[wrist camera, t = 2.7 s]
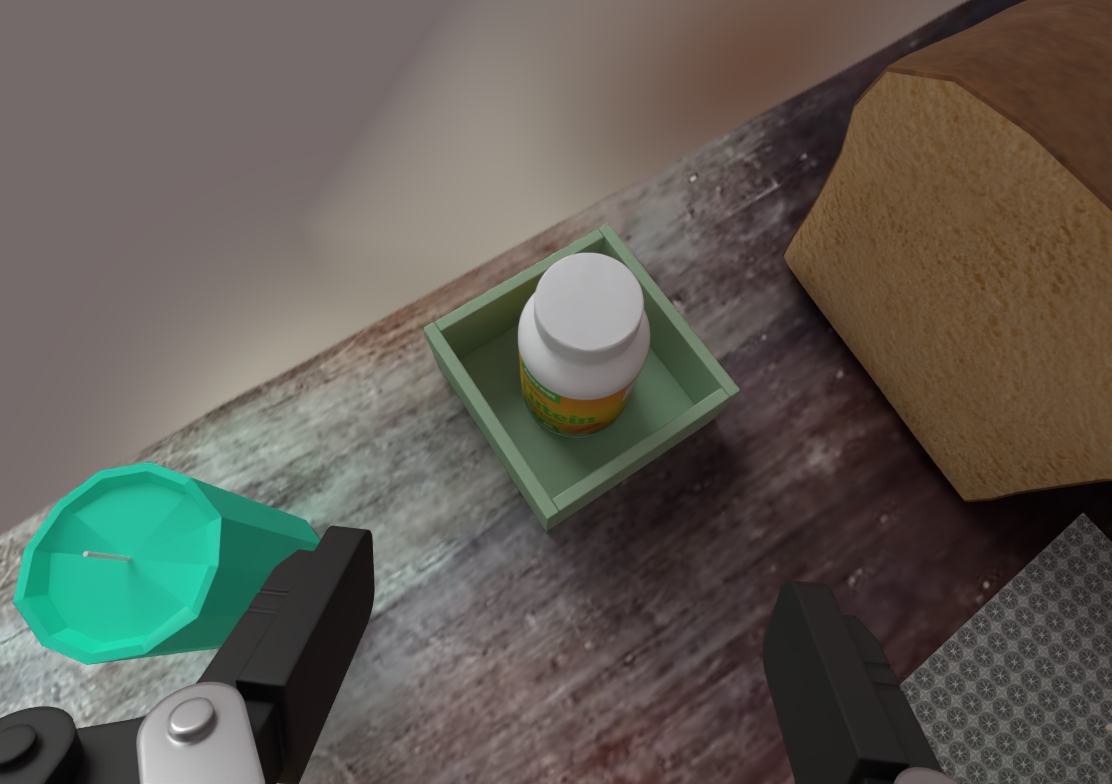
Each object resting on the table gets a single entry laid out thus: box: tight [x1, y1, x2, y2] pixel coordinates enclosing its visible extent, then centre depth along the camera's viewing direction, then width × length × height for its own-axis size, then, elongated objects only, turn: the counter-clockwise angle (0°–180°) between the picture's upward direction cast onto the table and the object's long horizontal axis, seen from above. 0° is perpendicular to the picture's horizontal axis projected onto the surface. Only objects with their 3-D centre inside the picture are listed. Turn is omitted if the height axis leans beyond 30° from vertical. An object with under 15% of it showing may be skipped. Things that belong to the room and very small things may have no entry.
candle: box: [13, 462, 320, 665], centre depth 24 cm, size 6×6×12 cm
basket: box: [423, 223, 740, 532], centre depth 30 cm, size 10×10×4 cm
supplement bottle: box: [518, 253, 650, 438], centre depth 27 cm, size 5×5×10 cm
